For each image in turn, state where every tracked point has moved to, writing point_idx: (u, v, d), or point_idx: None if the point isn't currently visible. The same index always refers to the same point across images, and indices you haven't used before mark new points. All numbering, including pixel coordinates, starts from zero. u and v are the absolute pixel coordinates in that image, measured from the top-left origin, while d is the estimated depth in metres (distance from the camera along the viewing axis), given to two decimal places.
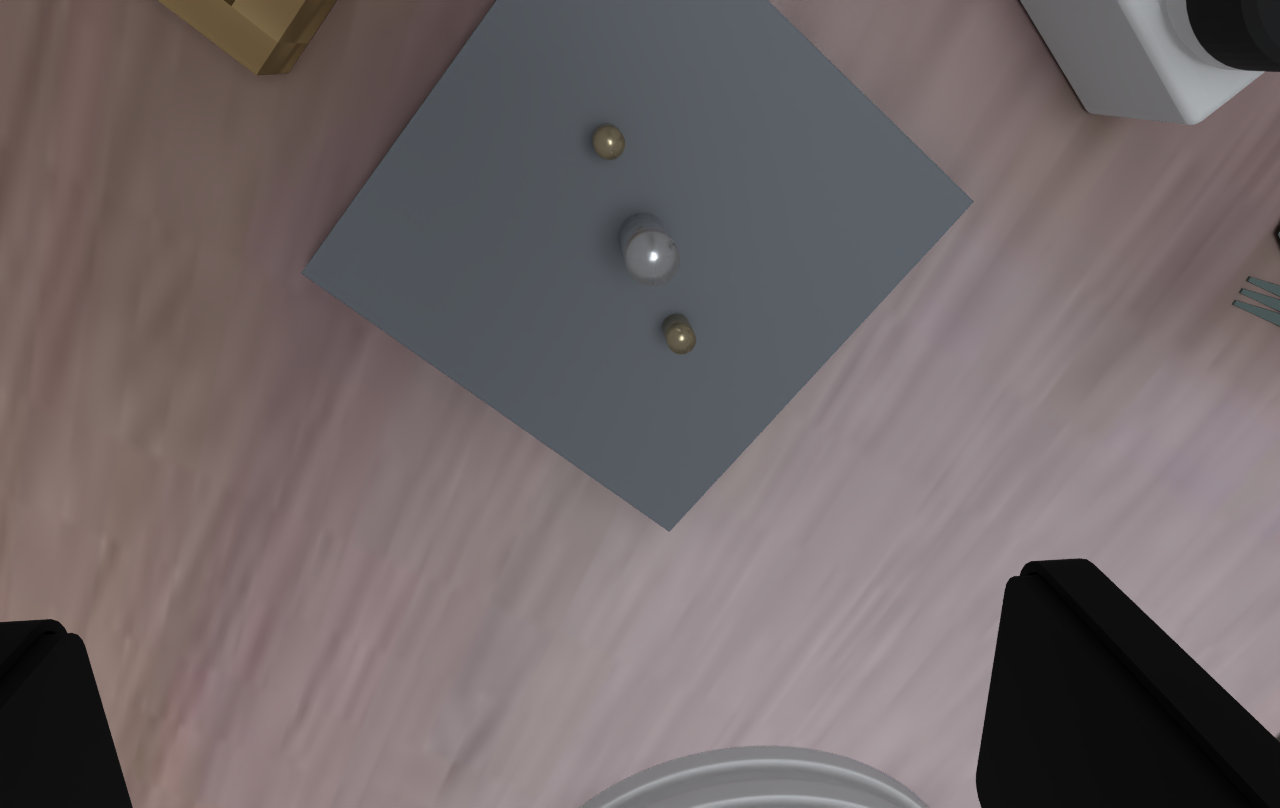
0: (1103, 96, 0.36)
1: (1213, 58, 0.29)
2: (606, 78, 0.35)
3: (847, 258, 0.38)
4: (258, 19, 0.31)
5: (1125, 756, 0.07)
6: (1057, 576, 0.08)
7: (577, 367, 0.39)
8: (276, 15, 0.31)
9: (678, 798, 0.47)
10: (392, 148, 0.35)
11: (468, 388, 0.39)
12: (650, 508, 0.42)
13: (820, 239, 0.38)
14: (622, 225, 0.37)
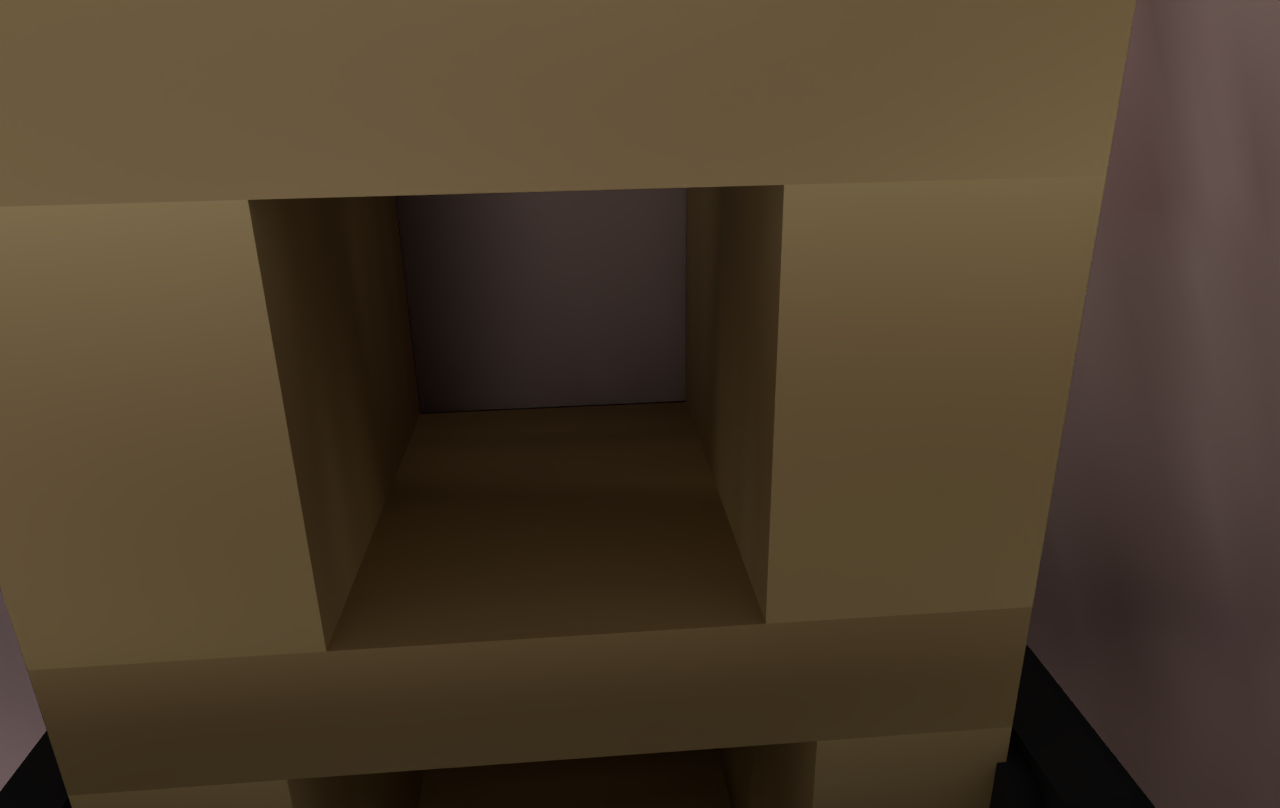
0: None
1: None
2: None
3: None
4: (73, 248, 0.05)
5: None
6: None
7: None
8: (19, 343, 0.05)
9: None
10: None
11: None
12: None
13: None
14: None
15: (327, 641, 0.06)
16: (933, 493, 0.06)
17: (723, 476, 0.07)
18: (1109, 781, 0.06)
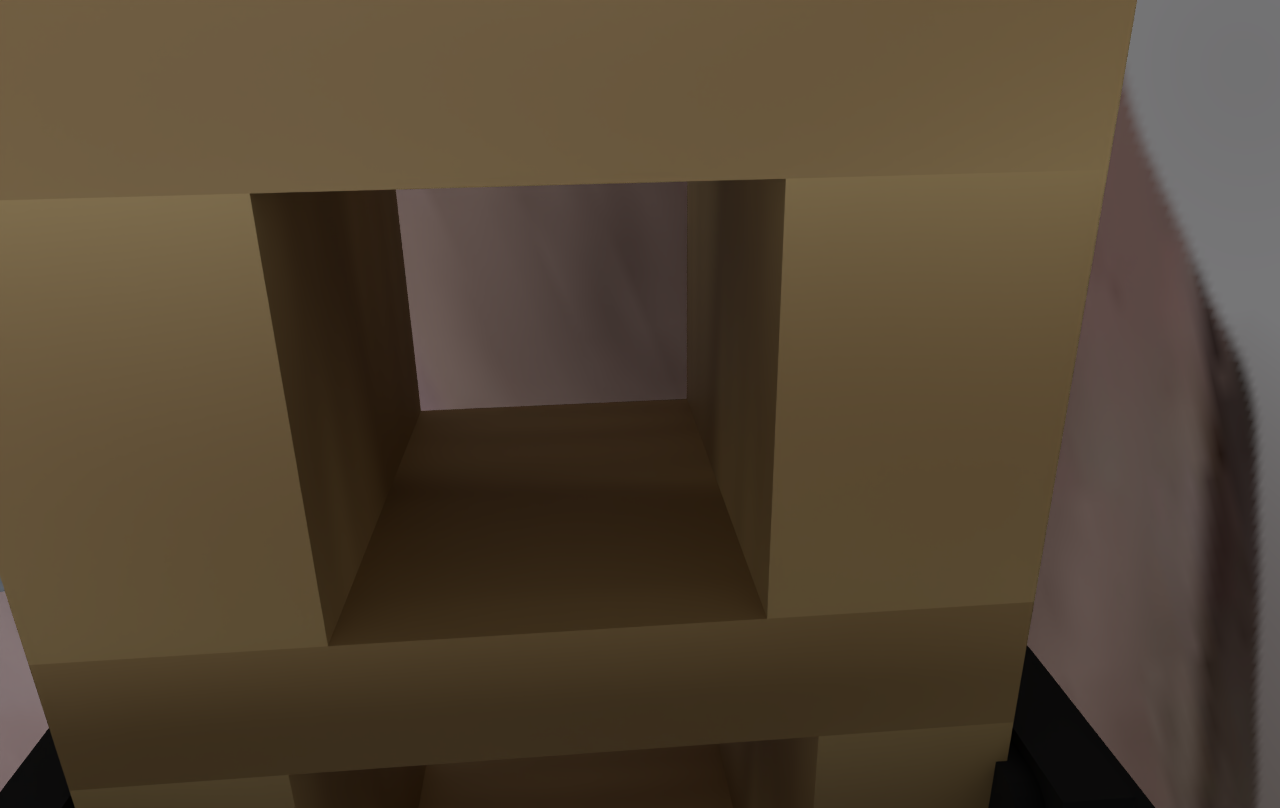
0: None
1: None
2: None
3: None
4: (75, 241, 0.05)
5: None
6: None
7: None
8: (20, 337, 0.05)
9: None
10: None
11: None
12: None
13: None
14: None
15: (328, 636, 0.06)
16: (934, 488, 0.06)
17: (724, 472, 0.07)
18: (1109, 781, 0.06)
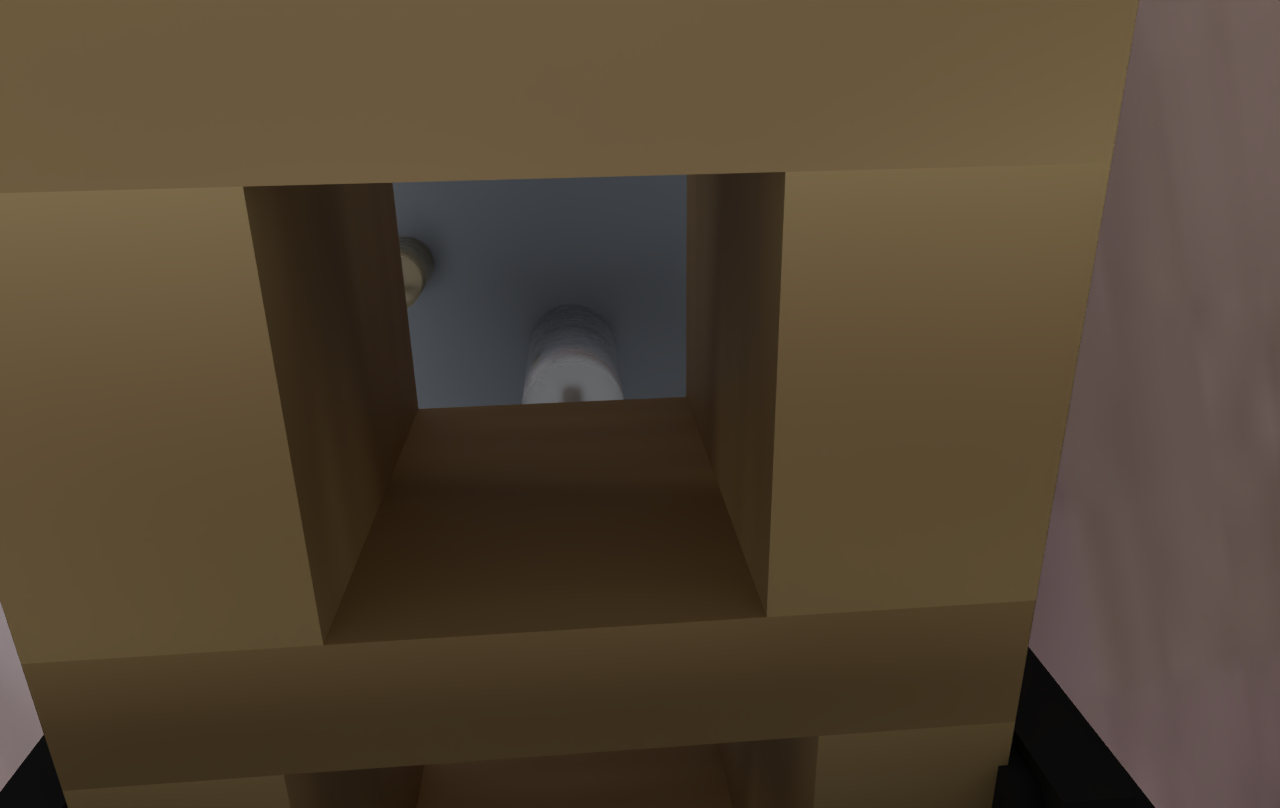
0: None
1: None
2: None
3: None
4: (66, 235, 0.05)
5: None
6: None
7: None
8: (12, 332, 0.05)
9: None
10: None
11: None
12: None
13: None
14: (613, 339, 0.21)
15: (322, 635, 0.06)
16: (936, 485, 0.06)
17: (723, 470, 0.07)
18: (1110, 780, 0.06)
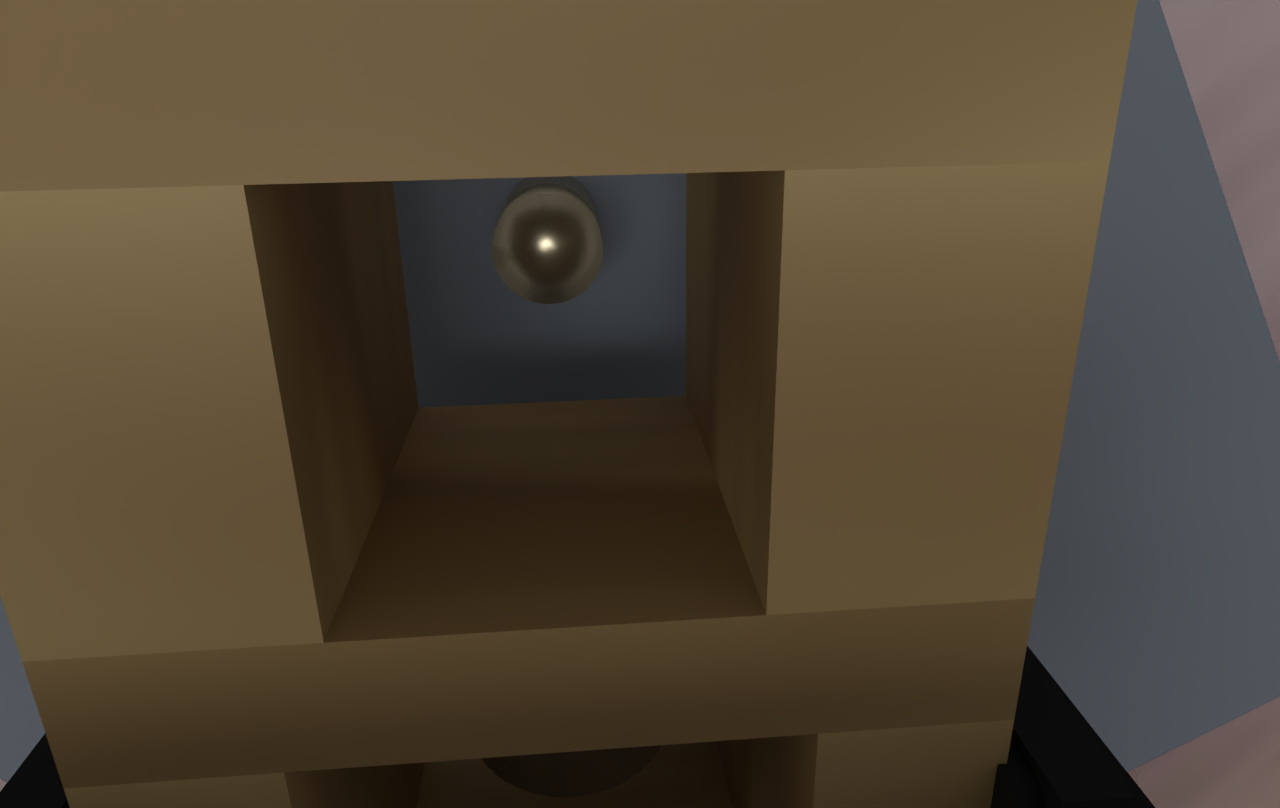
0: None
1: None
2: None
3: None
4: (67, 234, 0.05)
5: None
6: None
7: None
8: (13, 330, 0.05)
9: None
10: None
11: (1234, 245, 0.12)
12: None
13: None
14: None
15: (325, 633, 0.06)
16: (935, 483, 0.06)
17: (723, 468, 0.07)
18: (1109, 781, 0.06)
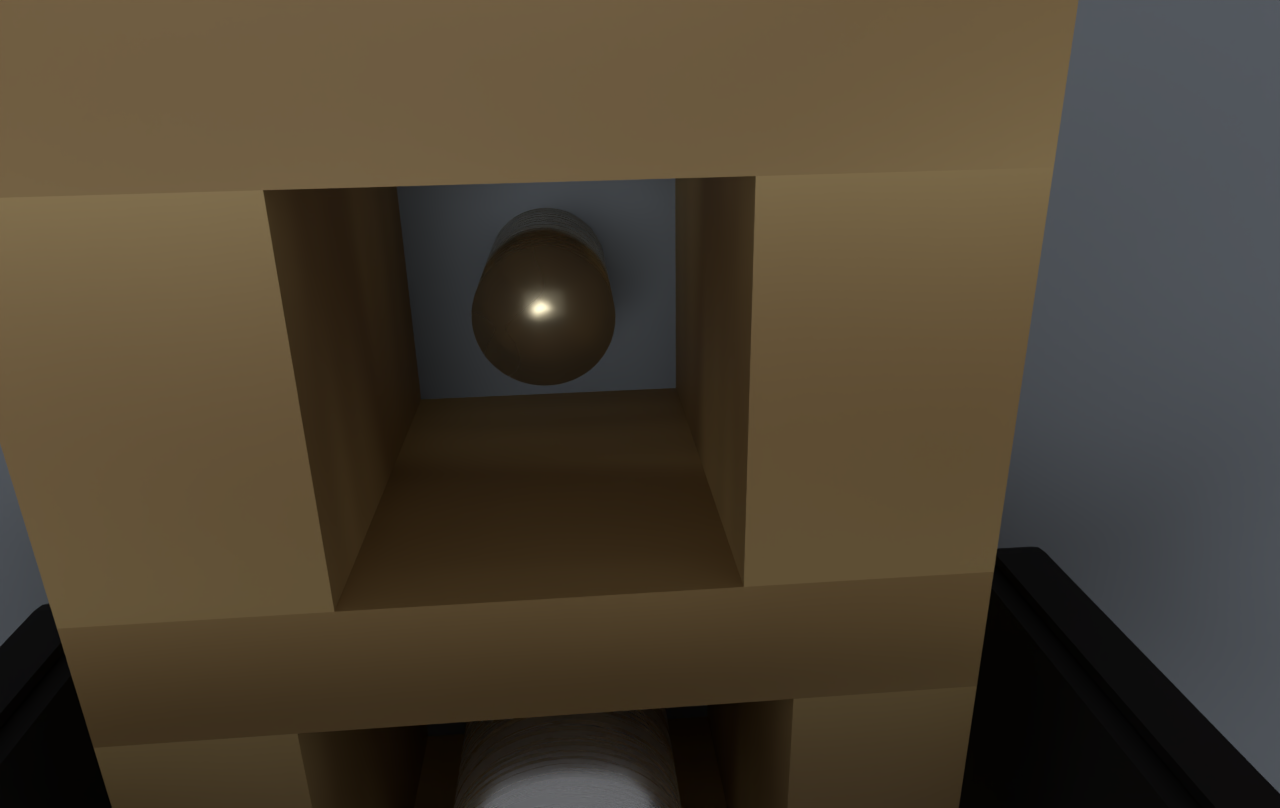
0: None
1: None
2: None
3: None
4: (103, 235, 0.05)
5: (1065, 735, 0.07)
6: (1008, 563, 0.09)
7: None
8: (52, 323, 0.05)
9: None
10: None
11: None
12: None
13: None
14: None
15: (334, 603, 0.06)
16: (898, 464, 0.06)
17: (707, 454, 0.08)
18: None
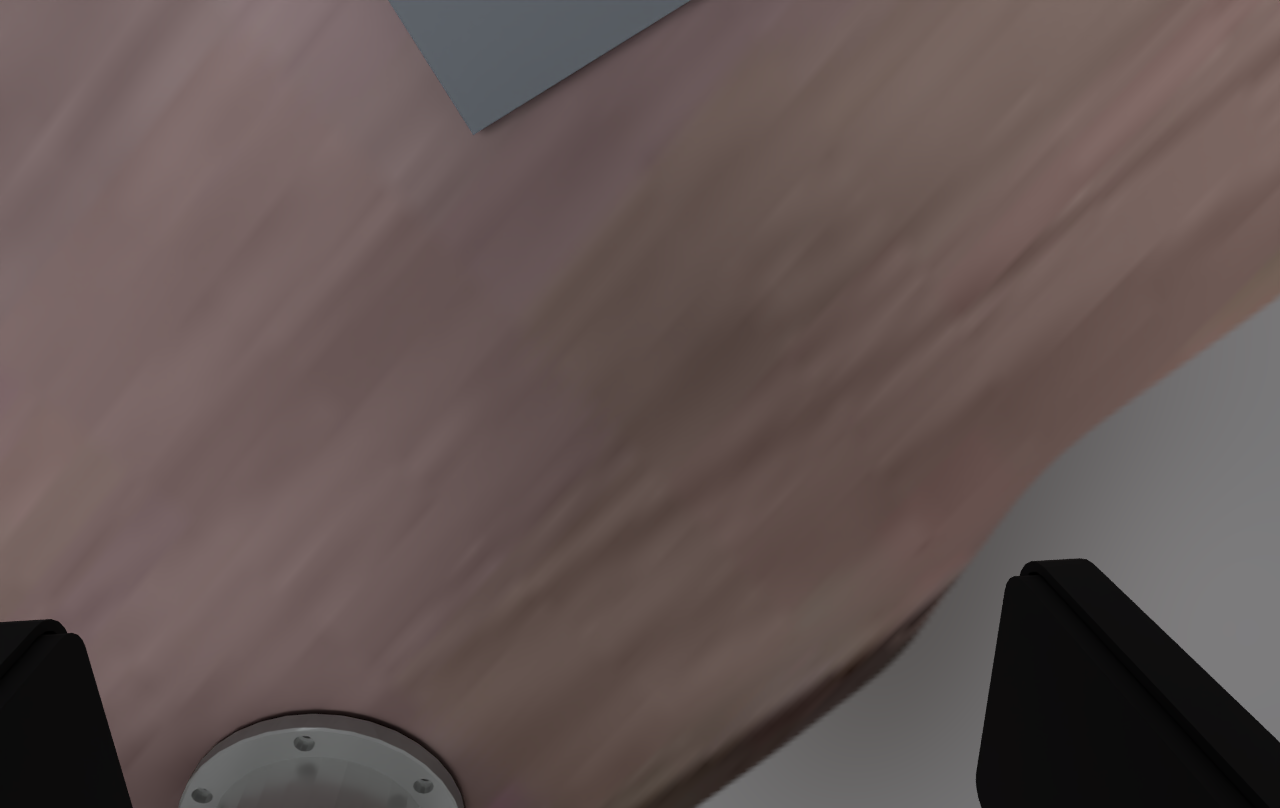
0: None
1: None
2: None
3: None
4: None
5: (1125, 756, 0.07)
6: (1057, 576, 0.08)
7: None
8: None
9: None
10: None
11: None
12: None
13: None
14: None
15: None
16: None
17: None
18: None
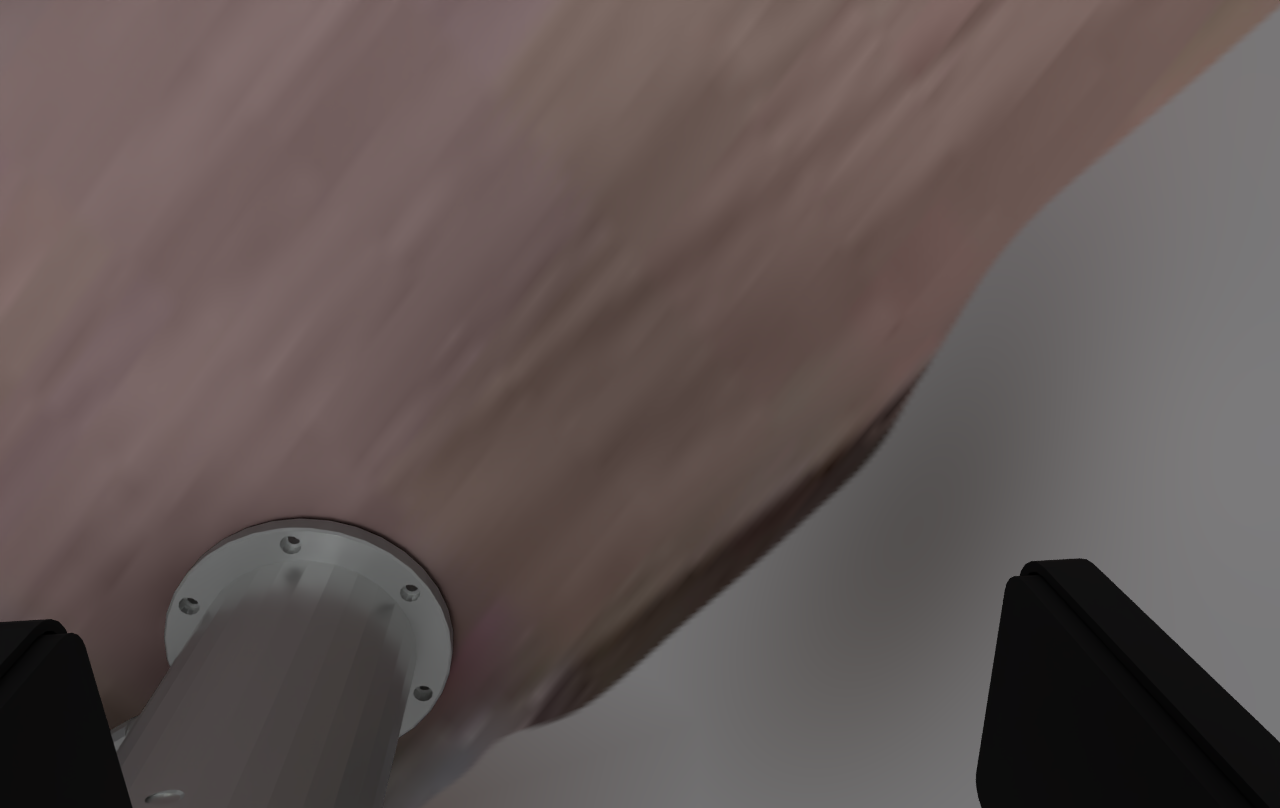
0: None
1: None
2: None
3: None
4: None
5: (1125, 756, 0.07)
6: (1057, 576, 0.08)
7: None
8: None
9: None
10: None
11: None
12: None
13: None
14: None
15: None
16: None
17: None
18: None
